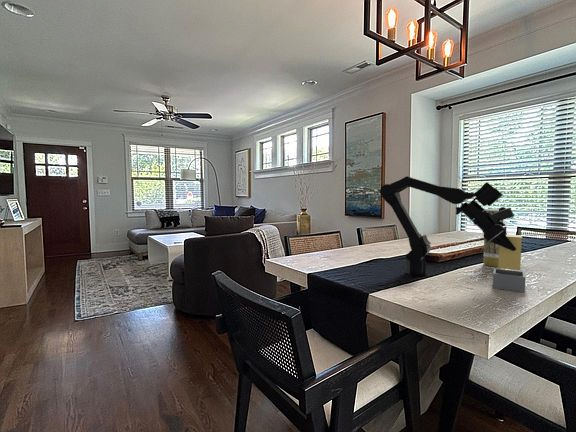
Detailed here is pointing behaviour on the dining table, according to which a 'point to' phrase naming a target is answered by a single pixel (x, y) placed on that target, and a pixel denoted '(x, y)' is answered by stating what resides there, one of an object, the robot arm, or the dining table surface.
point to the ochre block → (511, 254)
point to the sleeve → (509, 280)
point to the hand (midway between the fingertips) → (515, 248)
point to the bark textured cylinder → (491, 248)
